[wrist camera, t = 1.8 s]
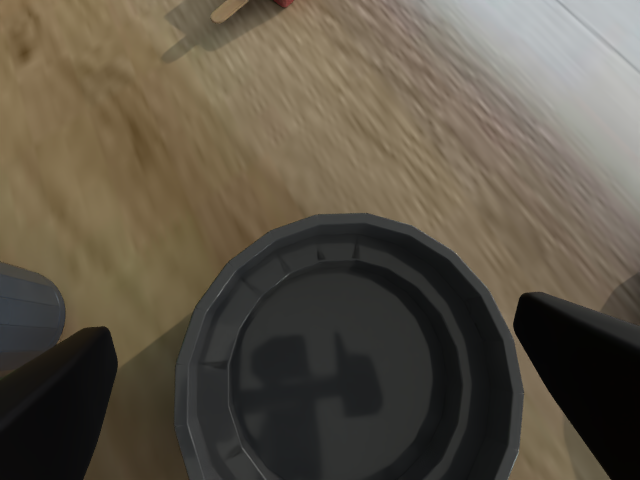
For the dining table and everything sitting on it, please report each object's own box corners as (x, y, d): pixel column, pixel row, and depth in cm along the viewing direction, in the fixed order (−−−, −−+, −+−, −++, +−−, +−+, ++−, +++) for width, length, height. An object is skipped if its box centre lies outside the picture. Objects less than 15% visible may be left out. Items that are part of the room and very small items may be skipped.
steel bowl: (499, 516, 21) (557, 561, 16) (193, 558, 19) (168, 622, 14) (451, 232, 25) (488, 208, 21) (197, 241, 23) (178, 218, 19)
